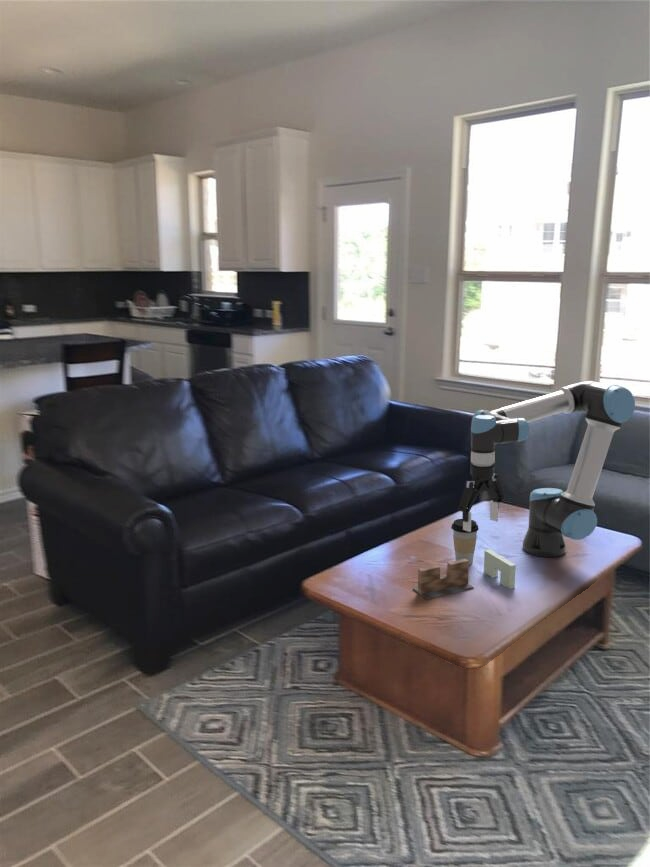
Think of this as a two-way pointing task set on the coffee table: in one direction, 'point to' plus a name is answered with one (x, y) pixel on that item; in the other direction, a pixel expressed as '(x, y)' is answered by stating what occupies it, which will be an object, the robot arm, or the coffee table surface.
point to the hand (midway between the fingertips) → (480, 525)
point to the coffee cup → (464, 540)
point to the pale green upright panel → (499, 568)
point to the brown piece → (443, 579)
